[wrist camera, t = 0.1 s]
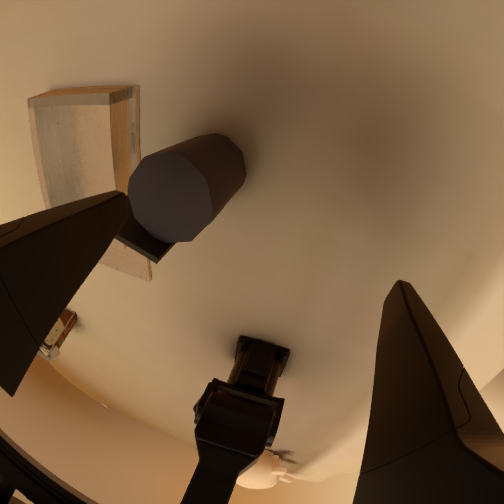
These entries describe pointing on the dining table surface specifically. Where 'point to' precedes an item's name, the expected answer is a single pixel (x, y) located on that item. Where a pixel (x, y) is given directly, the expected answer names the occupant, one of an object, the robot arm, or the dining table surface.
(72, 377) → the dining table surface
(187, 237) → the speaker
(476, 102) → the dining table surface
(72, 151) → the beige shallow tray
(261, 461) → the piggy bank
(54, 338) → the food container
